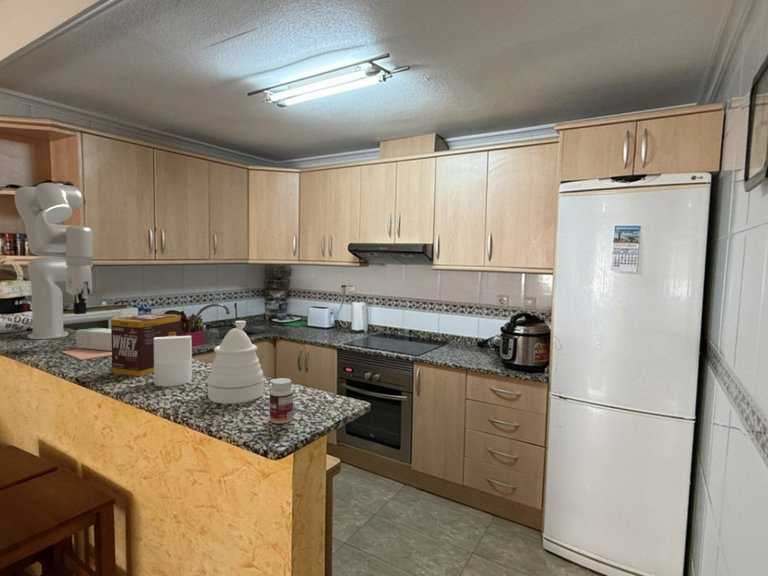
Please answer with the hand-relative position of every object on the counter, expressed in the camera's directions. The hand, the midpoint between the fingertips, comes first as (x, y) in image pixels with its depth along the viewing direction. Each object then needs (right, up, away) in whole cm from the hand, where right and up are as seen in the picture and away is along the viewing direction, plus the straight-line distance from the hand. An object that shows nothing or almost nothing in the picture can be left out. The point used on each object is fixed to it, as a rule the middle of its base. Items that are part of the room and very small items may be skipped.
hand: (80, 313), depth 146 cm
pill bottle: (+86, -19, -59) cm, 106 cm away
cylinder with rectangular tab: (+51, -16, -34) cm, 63 cm away
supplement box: (+37, -15, -23) cm, 46 cm away
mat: (+9, -13, -5) cm, 17 cm away
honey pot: (+71, -18, -44) cm, 85 cm away
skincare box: (+1, -9, +2) cm, 9 cm away
